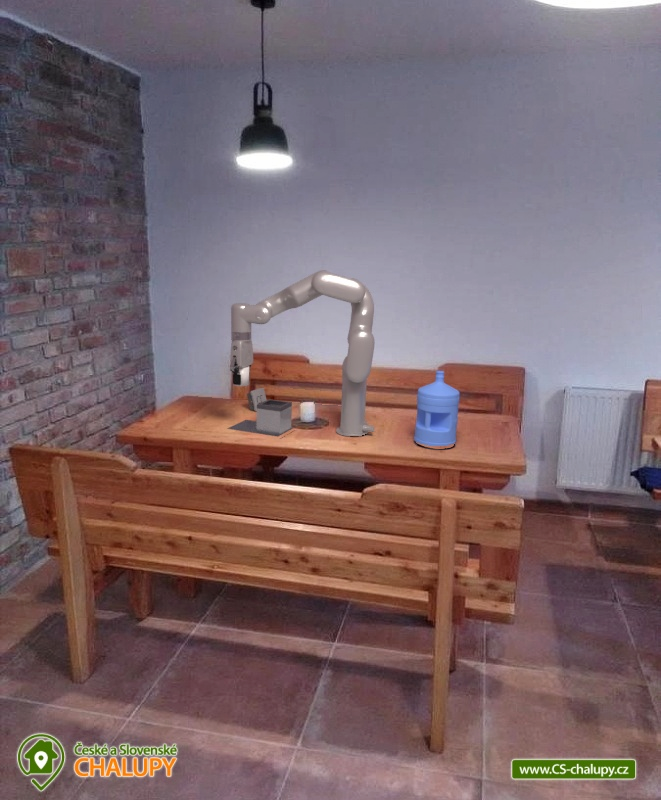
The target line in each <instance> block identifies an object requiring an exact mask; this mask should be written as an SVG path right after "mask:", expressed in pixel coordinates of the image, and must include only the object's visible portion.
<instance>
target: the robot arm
mask: <svg viewBox="0 0 661 800" xmlns="http://www.w3.org/2000/svg"><path fill="white" fill-rule="evenodd" d="M321 296H325V297H328V298H332V299H336V300H339V301H343V302H346V303H349V304H350V306H351V312H350V314H351V315H350V323H349V330H348V334H347V344H348V347H347V348H348V349H347V354H346V355H347V356H345V358H344V359H343V362H342V367H341V369H342V370H341V374H342V375H341V378H342V379H341V381H342V382H341V383H342V385H341V404H340V405H341V406H340V407H341V409H340V426H339V427H337V428H336V430H335V431H336V433H337V434H338V435H339V436H345V437H350V436H359V437H363V436H362V435H364V436H366V435H365V434H367V433H368V434H369V432H370V433H374V432H375V427H374V425H369V424H368V421H366V404H367V402H366V401H367V388H368V387H367V385H368V384H367V381H368V380H367V379H368V377H370V374H371V369H372V365H373V358H374V353H375V336H374V334H373V333H372V332H373V324H374V317H375V316H374V313H375V303H374V299H373V296H372V294H371V292H370V291H369V289H368V288H367V287H366V285H364V283H363V282H362V281H360V280H359V279H357V278H349V277H346V276H342V275H339V274H335V273H333V272H330V271H328V270H325V269H321V270H318V271H316V272H314V273H312V274H310V275H308V276H306V277H305V278H303V279H300V280H299V281H297V282H295V283H292V284H290V285H289V286H287V287H285V288H284V289H282V290H280V291H278V292H276V293H275V294H273V295H271V296H268V297H267V298H265V299H263V300H261V301H259V302H257V303H255V304H249V303H247V302H246V303H245V302H238V303H237V302H236V303H233V304H231V307H230V320H231V321H230V322H231V324H230V325H231V328H230V331H231V333H230V335H231V336H230V337H231V344H230V345H231V346H230V365H229V370H230V369H231V371H230V372H231V374H232V384H235V385H241V375H240V371H241V367H246V366H249V382H250V378H251V377H250V376H251V375H250V374H251V373H250V372H251V367H252V365H253V364H254V347H253V341H252V324H255V325H265V324H267V323H269V321H270V320H271V319H272V318H274V317H275V316H277V315H280V314H282V313H283V312H285V311H289V310H291V309H297V308H300V307H302V306H305V304H308V303H310V302H311V301H313V300H316V299H317V298H319V297H321ZM237 365H238V366H237ZM236 368H238V370H237V369H236ZM235 385H234V386H235ZM368 434H367V435H368Z"/></svg>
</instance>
